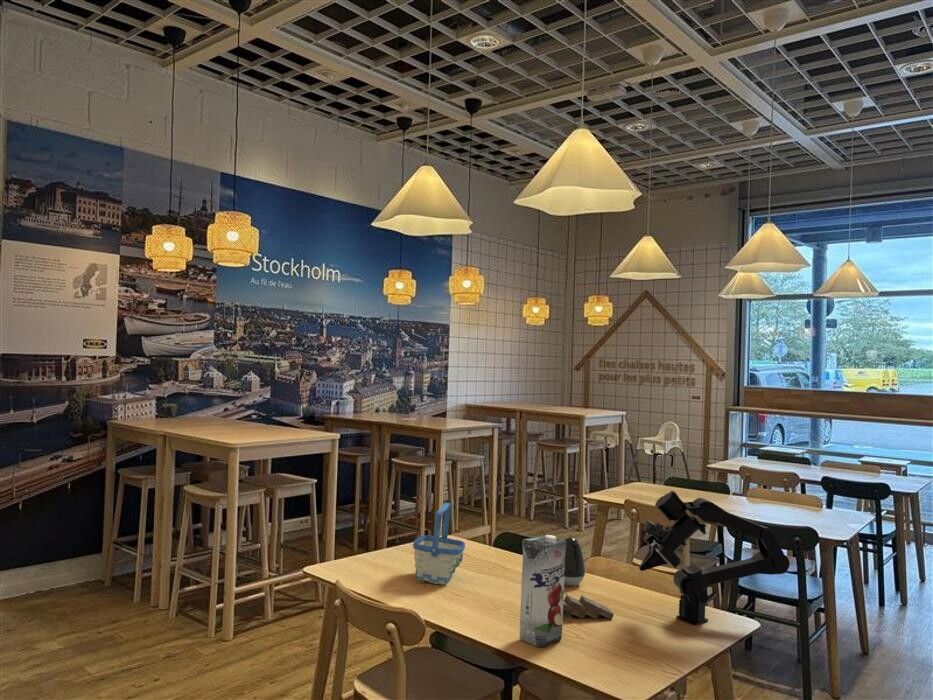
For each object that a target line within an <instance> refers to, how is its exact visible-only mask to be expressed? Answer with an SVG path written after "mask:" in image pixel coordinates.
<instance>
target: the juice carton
mask: <svg viewBox="0 0 933 700" xmlns="http://www.w3.org/2000/svg"><path fill="white" fill-rule="evenodd" d="M565 551H566V541H565V540H564V539H561V538H557V536H555V535H551V534H546V535H545V534H544V535H540V536H538V537H535V538H524V539H522V564H521V565H522V569H521V570H522V572H521V594H520V596H521V597H520V615H519V616H520V619H519V640H520V641H523V642H526V643H528V644H530V645H534V646H536V647H538V648H543V647H547V646H548V645H550V644H553V643H556V642H559V641H561V640H562V638H563V623H564V622H563V619H564V618H563V600H564V599H565V597H564V595H565V585H564V572H565Z"/></svg>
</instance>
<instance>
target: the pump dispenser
mask: <svg viewBox="0 0 933 700" xmlns="http://www.w3.org/2000/svg"><path fill="white" fill-rule="evenodd" d="M563 540H565V541H566V551H565V572H564V586H568V587H574V586H575V587H576V586H578V585H580V584H581V583H582V582H583V580H584V576H585V575H586V566H585V558H584V554H583V551H582V547H581V545H580V543H579V541H578V540H577V539H576V538H575V537H572V536H569V537H566V538H564V539H563Z"/></svg>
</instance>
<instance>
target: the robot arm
mask: <svg viewBox="0 0 933 700" xmlns="http://www.w3.org/2000/svg"><path fill="white" fill-rule="evenodd" d="M654 505H655V507H656V508H657V510H658V511H659V512H660V513H661V514H662V515H663V516H664V517H665V518H666V519H667V520H668V521H669V522H671V521H673V523H672V524H671V526H669V525H666V526H663V524H660V523H659V522H656V523H653V522H652V521H650V520H648V519H646V521H645V522H644V524H643V527H642V529H641V530H642V531H644V533H646V534H645V536H643V539H644V540H645V541H646V542H647V553H646V555H645V556H644V558H643V560H642V561H641V563H640V564H639V566H638V569H639V571H641V572H644V571H647V570H650V569H653V568H657V567H661V566H664V565H668V563H670V565H671V566H672V567H673V568H674V569H676V568H677V567H678V566H680V564H681V558H680V557H679V556H678V555H677V554H676V551H677V550H678V549H680V547H686V546H687V541H688V540H689V539H690V538H692V536H693V535H694V534H695V533H696V532H698V531H699V532H700V533H701V534H703V535H706V526H707V525H706V523H711V524H717V525H723V526H727V527H729V528H731V529H734V530H737V531H739V532H741V533H744V534H746V535H749V536H752V537H754V538H755V539H756V544H757V545H756V546H757V548H758V552H756V553H755V554H754V555H753V556H751V557H749V558H746V559H743V560H737V561H734V562H733V561H732V562H729V563H725V564H722V565H717V566H714V567H709V568H703V569H701V568H700V567H698V566H697V564H691V565H688V566H680V569H678V570H677V571H675V574H674V575H673V583H674V585H675V587H676V588H678V589H679V593H680V599H679V601H678V603H679V604H678V615H676V619H679V620H681V621H684V622H686V623H689V624H692V625H699V624H703V623H706V622H708V621H709V619H708V618H707V617H706V603H707V601H708V599H709V595H708V594H707V592H705V590H707V589H708V588H709V587H711V586H714V585H716V584H721V583H722V584H723V583H725V582H729V581H734V580H738V579H741V578H746V577H749V576H754V575H759V574H760V575H784V574H785V573H787V572H788V571H789V569H790V560H789V557H788V556H787V555H785V554H784V551H783V549H782V547H781V546H780V544H779V542H778V541H777V539H776V538H775V535H774V533H773V531H772V529H770V528H769V527H767V526H764V525H761V524H758V523H755V522H752V521H750V520H748V519H746V518H743V517H741V516H738V515H735V514H733V513H730V512H728V511H726V510H724V509H723V508H722V507H720V506H719V505H717V504H715V503H714V502H712V501H710V500H708V499H706V498H705V497H697V498H695V499H694V500H692V501H685V502H684V501H683V500H682V499H681V498H680V497H679V496H678V494H677V493H676V492H675V491H674V490H671V491H670V492H668V493H666V494H664V495H662V496H660V497H659V498H658V499H657V501H656V502H655V504H654ZM687 512H688V513H690V514H691V515H689V514H688V513H687ZM696 517H697V518H698V519H700V520H702V521H703V522H701V521H699V520H698V519H697V518H696ZM704 522H706V523H704ZM667 561H668V562H667Z"/></svg>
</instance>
